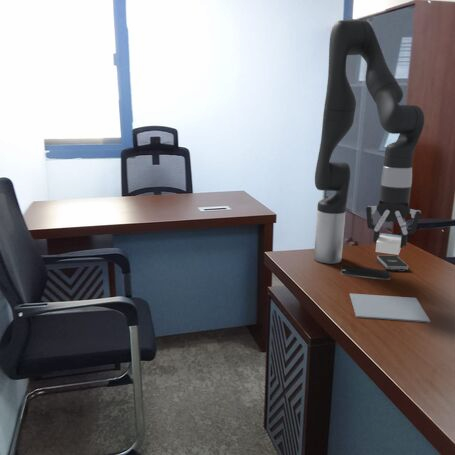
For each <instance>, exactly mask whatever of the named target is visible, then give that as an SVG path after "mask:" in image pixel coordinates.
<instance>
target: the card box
mask: <svg viewBox="0 0 455 455" xmlns="http://www.w3.org/2000/svg"><path fill="white" fill-rule="evenodd" d="M401 236H402V235H399V234H390V233H381V232H380V237H379V238H378V240H377V242H376V243H375V244H376V245H375V253H382V254H388V255H394V256H399V254H400V252H401V249H402V248H400V246H401Z"/></svg>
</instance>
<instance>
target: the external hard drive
mask: <svg viewBox="0 0 455 455" xmlns="http://www.w3.org/2000/svg"><path fill="white" fill-rule="evenodd" d="M376 261H377V262H378V263H379V264H380V265H381V266H382V267H383V268H384V270H386V271H389V272H408V271H409V265H408V264H407V263H405V261H404V260H402V258H400V257H399V255H395V254H388V255H385V254H383V255H382V254H378V255H377V256H376Z"/></svg>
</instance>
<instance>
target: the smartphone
mask: <svg viewBox="0 0 455 455" xmlns="http://www.w3.org/2000/svg"><path fill="white" fill-rule="evenodd" d="M390 272H391V271H387V270H386V269H376V268H375V269H374V268H366V267H356V266H355V267H354V266H345V265H344V266H341V269H340V274H341V275H342V276H349V277H356V278H366V279H374V280H382V281H391V278H392V277H391V273H390Z"/></svg>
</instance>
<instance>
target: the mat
mask: <svg viewBox="0 0 455 455" xmlns="http://www.w3.org/2000/svg"><path fill="white" fill-rule="evenodd" d="M349 297H350V301H351V304H352V308H353V311H354V314H355V318H363V319H375V320H391V321H403V322H419V323H431V320H430V318H429V317H428V315H427V313H426V311H425V310H424V308H423V307H422V305H421V303H420V301H419V300H418V299H417V297H408V296H397V295H396V296H395V295H394V296H393V295H378V294H364V293H363V294H362V293H349Z"/></svg>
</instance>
